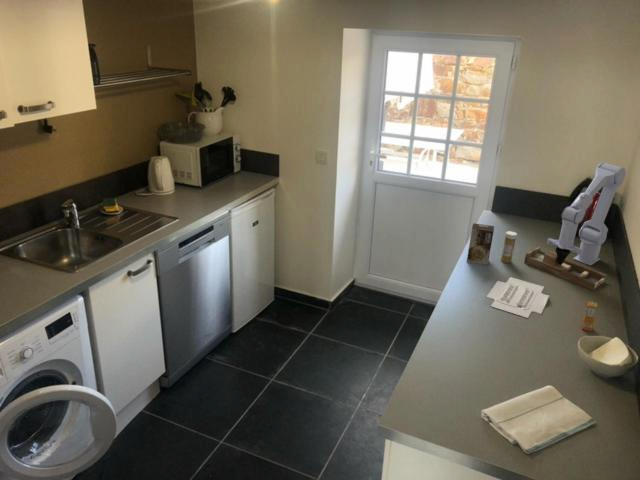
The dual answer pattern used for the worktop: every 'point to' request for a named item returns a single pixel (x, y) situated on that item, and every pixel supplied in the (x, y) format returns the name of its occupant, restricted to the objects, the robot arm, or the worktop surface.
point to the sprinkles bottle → (508, 246)
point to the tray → (518, 297)
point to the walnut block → (550, 258)
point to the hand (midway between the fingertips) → (560, 263)
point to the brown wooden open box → (566, 270)
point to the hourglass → (589, 316)
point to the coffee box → (480, 243)
